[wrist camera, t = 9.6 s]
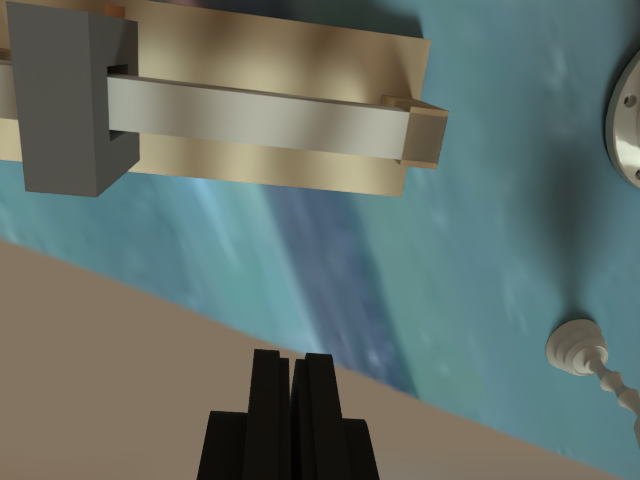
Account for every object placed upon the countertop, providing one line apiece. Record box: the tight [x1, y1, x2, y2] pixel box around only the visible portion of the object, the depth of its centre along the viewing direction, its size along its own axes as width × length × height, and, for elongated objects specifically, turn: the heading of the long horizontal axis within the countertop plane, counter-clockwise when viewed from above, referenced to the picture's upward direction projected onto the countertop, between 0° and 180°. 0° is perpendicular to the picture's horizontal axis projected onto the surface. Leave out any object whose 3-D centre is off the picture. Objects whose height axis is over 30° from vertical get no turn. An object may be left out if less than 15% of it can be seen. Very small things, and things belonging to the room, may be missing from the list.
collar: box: [6, 1, 140, 197], centre depth 23 cm, size 3×8×8 cm, turn 173°
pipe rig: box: [0, 0, 449, 197], centre depth 27 cm, size 26×10×8 cm, turn 83°
